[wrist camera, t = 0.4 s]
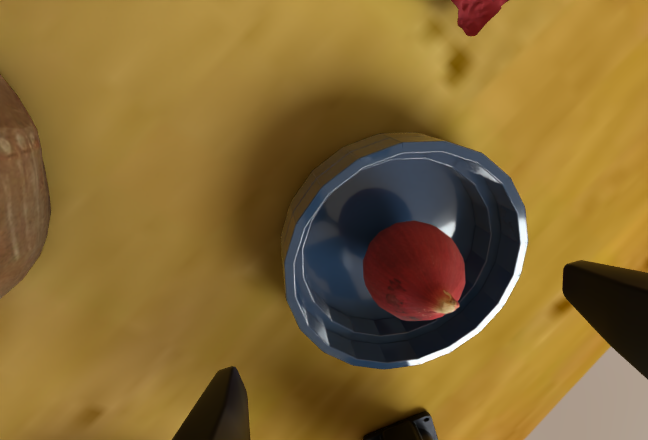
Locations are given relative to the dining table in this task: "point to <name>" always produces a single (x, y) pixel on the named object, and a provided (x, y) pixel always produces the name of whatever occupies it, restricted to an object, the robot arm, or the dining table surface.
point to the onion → (414, 271)
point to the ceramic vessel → (20, 191)
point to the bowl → (380, 213)
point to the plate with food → (476, 13)
